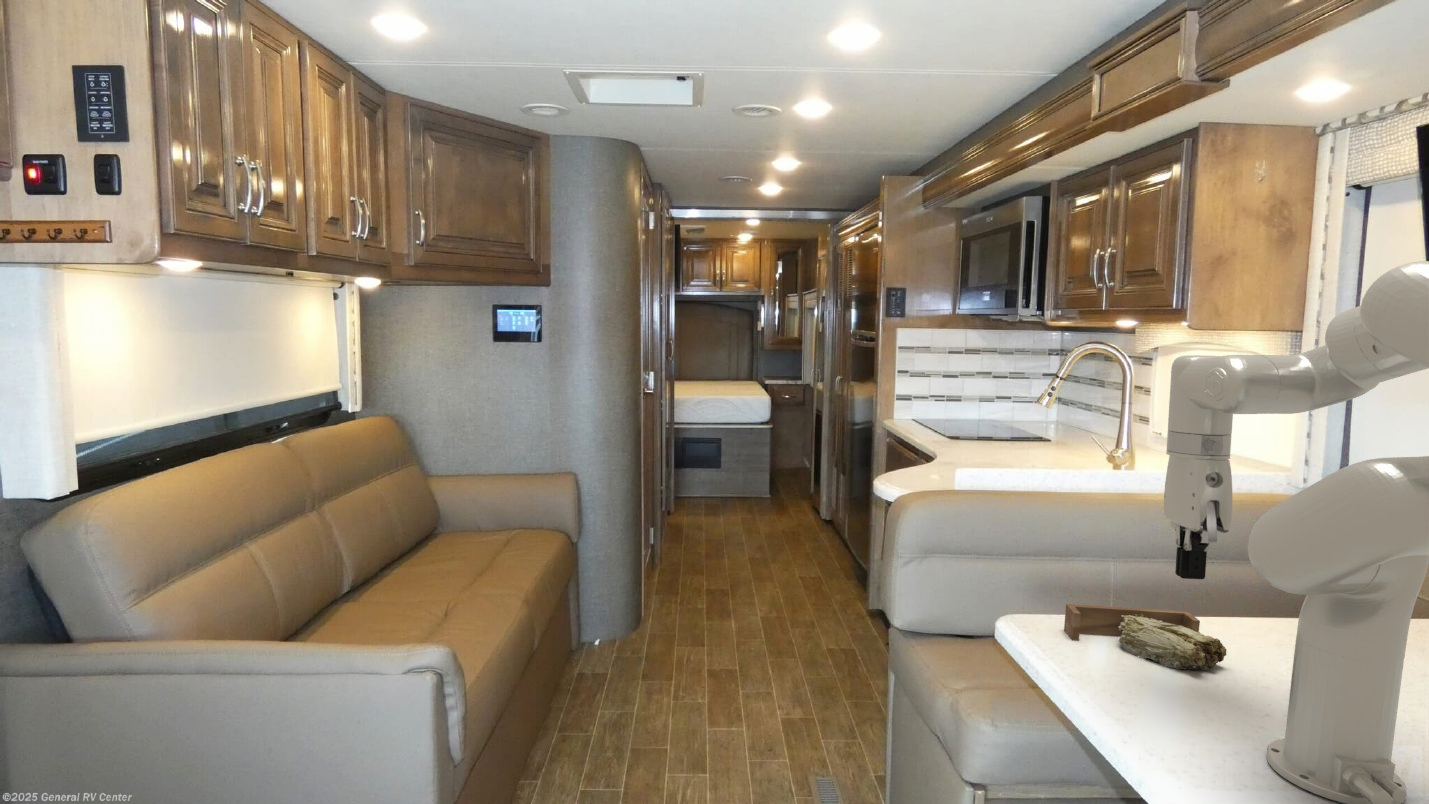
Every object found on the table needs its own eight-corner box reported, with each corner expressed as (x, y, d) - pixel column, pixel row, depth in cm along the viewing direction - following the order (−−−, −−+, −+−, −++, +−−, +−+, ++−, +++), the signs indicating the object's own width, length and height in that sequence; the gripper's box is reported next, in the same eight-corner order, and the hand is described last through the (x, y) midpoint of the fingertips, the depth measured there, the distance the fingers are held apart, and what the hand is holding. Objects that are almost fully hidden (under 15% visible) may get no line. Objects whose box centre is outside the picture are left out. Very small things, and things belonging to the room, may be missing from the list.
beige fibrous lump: (1230, 667, 121) (1234, 632, 121) (1200, 683, 116) (1204, 647, 115) (1134, 634, 133) (1137, 602, 132) (1103, 647, 127) (1106, 614, 127)
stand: (1197, 648, 127) (1199, 620, 127) (1072, 640, 129) (1074, 612, 129) (1185, 638, 131) (1187, 611, 131) (1064, 630, 133) (1066, 604, 133)
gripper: (1258, 453, 103) (1248, 595, 104) (1200, 440, 118) (1192, 564, 119) (1196, 452, 104) (1187, 592, 105) (1146, 438, 118) (1139, 561, 120)
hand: (1190, 577), depth 112 cm, fingers closed
